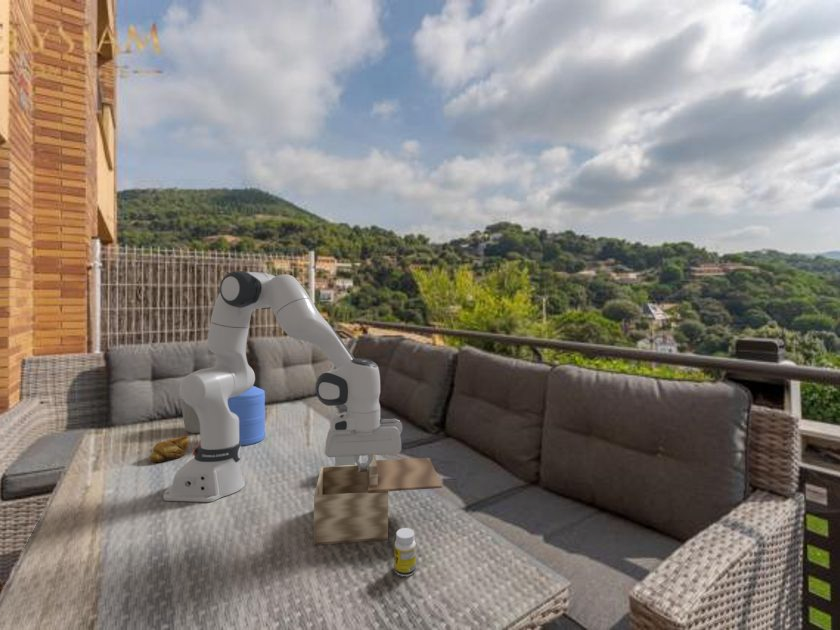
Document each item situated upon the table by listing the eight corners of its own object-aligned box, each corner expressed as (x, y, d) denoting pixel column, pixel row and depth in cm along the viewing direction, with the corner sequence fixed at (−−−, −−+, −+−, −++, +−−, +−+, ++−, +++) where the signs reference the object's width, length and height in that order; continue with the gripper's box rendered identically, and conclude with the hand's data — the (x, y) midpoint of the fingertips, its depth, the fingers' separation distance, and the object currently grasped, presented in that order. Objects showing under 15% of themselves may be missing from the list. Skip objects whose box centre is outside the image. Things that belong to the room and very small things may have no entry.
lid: (367, 492, 98) (367, 480, 98) (366, 462, 116) (366, 452, 116) (441, 488, 101) (441, 476, 100) (429, 459, 119) (429, 449, 119)
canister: (197, 423, 195) (197, 380, 194) (231, 425, 192) (231, 381, 192) (169, 435, 177) (169, 388, 176) (206, 437, 174) (206, 389, 174)
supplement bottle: (394, 563, 90) (394, 527, 90) (414, 562, 90) (415, 526, 90) (394, 578, 85) (394, 539, 85) (416, 577, 86) (416, 538, 85)
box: (313, 545, 96) (314, 496, 96) (321, 507, 114) (321, 466, 114) (387, 539, 99) (388, 491, 99) (383, 503, 117) (384, 463, 117)
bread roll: (153, 466, 143) (153, 444, 142) (143, 460, 148) (143, 439, 148) (191, 456, 153) (191, 435, 153) (180, 450, 159) (180, 430, 159)
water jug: (272, 438, 173) (272, 374, 173) (239, 449, 160) (239, 380, 160) (250, 432, 182) (250, 371, 181) (217, 441, 169) (217, 376, 168)
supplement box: (354, 478, 134) (354, 441, 133) (334, 476, 135) (334, 440, 135) (362, 469, 141) (362, 434, 141) (342, 468, 142) (342, 433, 142)
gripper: (401, 415, 111) (400, 464, 111) (326, 417, 108) (326, 468, 108) (403, 421, 105) (403, 473, 105) (324, 424, 102) (324, 477, 102)
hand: (363, 470), depth 107 cm, fingers closed
